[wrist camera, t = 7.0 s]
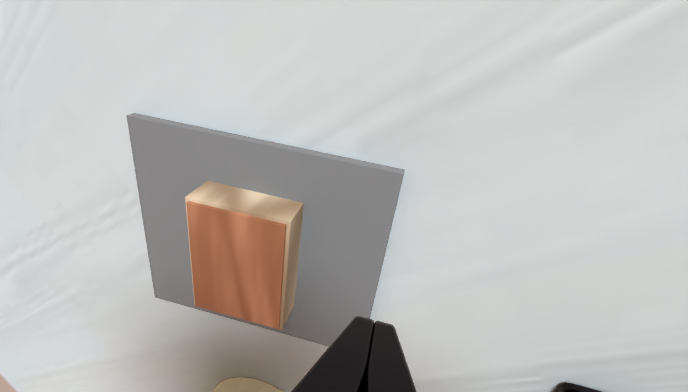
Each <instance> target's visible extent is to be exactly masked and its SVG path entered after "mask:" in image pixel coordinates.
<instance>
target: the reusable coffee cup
mask: <svg viewBox="0 0 688 392" xmlns="http://www.w3.org/2000/svg"><path fill="white" fill-rule="evenodd" d="M212 392H283V391H282V390H280V389H278V388H277V387H275V386H273V385H270V384H268V383H266V382H263V381H260V380H256V379H252V378H246V377H235V378H229V379H226V380H223V381H221V382H220V383H219V384H218V385H217V386H216V387H215V388H214V390H213V391H212Z"/></svg>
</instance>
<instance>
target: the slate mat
mask: <svg viewBox="0 0 688 392" xmlns="http://www.w3.org/2000/svg"><path fill="white" fill-rule="evenodd" d="M127 121H128V128H129V134H130V140H131V147H132V153H133V160H134V166H135V172H136V179H137V185H138V191H139V198H140V204H141V211H142V217H143V223H144V230H145V236H146V243H147V249H148V255H149V262H150V268H151V275H152V281H153V287H154V294H155V297H156V298H160V299H164V300H167V301H171V302H174V303H178V304H181V305H185V306H188V307H192V308H196V309H199V310H203V311H206V312H210V313H213V314H217V315H220V316H224V317H227V318H231V319H235V320H238V321H242V322H245V323H249V324H252V325H256V326H259V327H263V328H266V329H270V330H274V331H277V332H281V333H284V334H288V335H291V336H295V337H298V338H302V339H306V340H309V341H313V342H316V343H320V344H323V345H327V346H331V345H332V343H333V342H334V341H335V340H336V339H337V338H338V336H339V335H340V334H341V333H342V332H343V331H344V329H345V328H346V327H347V326H348V325H349V323H350V322H351V321H352V320H353V319H354V318H355V317H356V316H361V317H365V318H369V319H370V315H371V310H372V306H373V302H374V298H375V293H376V289H377V285H378V281H379V277H380V272H381V268H382V264H383V260H384V255H385V251H386V247H387V243H388V239H389V234H390V230H391V226H392V222H393V217H394V213H395V209H396V205H397V201H398V196H399V192H400V188H401V184H402V179H403V175H404V170H403V169H398V168H393V167H388V166H383V165H379V164H374V163H369V162H364V161H360V160H355V159H350V158H345V157H340V156H336V155H331V154H326V153H321V152H317V151H312V150H307V149H302V148H298V147H293V146H288V145H283V144H278V143H274V142H269V141H264V140H259V139H255V138H250V137H245V136H240V135H236V134H231V133H226V132H221V131H216V130H212V129H207V128H202V127H197V126H193V125H188V124H183V123H178V122H173V121H169V120H164V119H159V118H154V117H150V116H145V115H140V114H135V113H134V114H130V115H127ZM206 181H211V182H215V183H220V184H224V185H228V186H233V187H237V188H241V189H246V190H250V191H254V192H259V193H263V194H267V195H272V196H276V197H280V198H285V199H289V200H293V201H298V202H302V203H304V207H303V217H302V228H301V239H300V249H299V260H298V271H297V281H296V292H295V303H294V307H293V309H292V311H291V313H290V315H289V317H288V319H287V321H286V323H285V326H284V328H283V330H281V329H276V328H272V327H268V326H265V325H261V324H258V323H254V322H251V321H247V320H243V319H240V318H236V317H233V316H229V315H226V314H222V313H219V312H215V311H211V310H208V309H204V308H201V307H197V306H195V305H194V295H193V283H192V272H191V261H190V249H189V238H188V226H187V215H186V203H185V196H187V195H188V194H190V193H191V192H192V191H194V190H195V189H197V188H198V187H199V186H201V185H202V184H204V183H205V182H206Z"/></svg>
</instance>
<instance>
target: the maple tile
mask: <svg viewBox="0 0 688 392" xmlns="http://www.w3.org/2000/svg"><path fill="white" fill-rule="evenodd" d="M185 203H186V215H187V226H188V238H189V249H190V261H191V272H192V283H193V295H194V305H195V306H197V307H201V308H204V309H208V310H211V311H215V312H219V313H222V314H226V315H229V316H233V317H236V318H240V319H243V320H247V321H251V322H254V323H258V324H261V325H265V326H268V327H272V328H276V329H281V330H283V328H284V326H285V323H286V321H287V319H288V317H289V315H290V313H291V311H292V309H293V307H294V303H295V292H296V281H297V271H298V260H299V249H300V239H301V228H302V217H303V207H304V203H302V202H298V201H293V200H289V199H285V198H280V197H276V196H272V195H267V194H263V193H259V192H254V191H250V190H246V189H241V188H237V187H233V186H228V185H224V184H220V183H215V182H211V181H206V182H205V183H204V184H202V185H201V186H199V187H198V188H197V189H195V190H194V191H192V192H191V193H190V194H188V195H187V196H185Z"/></svg>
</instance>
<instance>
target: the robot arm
mask: <svg viewBox="0 0 688 392" xmlns="http://www.w3.org/2000/svg"><path fill="white" fill-rule="evenodd" d="M292 392H416V389H415V386H414V383H413V380H412V377H411V374H410V371H409V368H408V365H407V362H406V359H405V356H404V354H403V351H402V348H401V345H400V342H399V339H398V336H397V333H396V330H395V328H394V326H393V325H391V324H388V323H384V322H380V321H376V322H375V323H374V321H373V320H372V319H369V318H365V317H361V316H356V317H355V318H354V319H353V320H352V321H351V322H350V323H349V325H348V326H347V327H346V328H345V329H344V331H343V332H342V333H341V334H340V335H339V336H338V338H337V339H336V340H335V341H334V342H333V343H332V345H331V346H330V347H329V348H328V349H327V351H326V352H325V353H324V354H323V355H322V356H321V358H320V359H319V360H318V361H317V362H316V363H315V365H314V366H313V367H312V368H311V369H310V371H309V372H308V373H307V374H306V375H305V376H304V378H303V379H302V380H301V381H300V382H299V383H298V385H297V386H296V387H295V388H294V389H293V391H292ZM557 392H600V391H597V390H593V389H589V388H586V387H582V386H578V385H575V384H570V383H567V384H563V385H561V386H560V388H559V389H558V391H557Z"/></svg>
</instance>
